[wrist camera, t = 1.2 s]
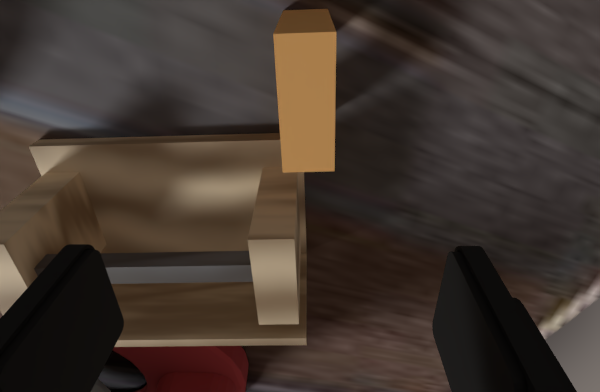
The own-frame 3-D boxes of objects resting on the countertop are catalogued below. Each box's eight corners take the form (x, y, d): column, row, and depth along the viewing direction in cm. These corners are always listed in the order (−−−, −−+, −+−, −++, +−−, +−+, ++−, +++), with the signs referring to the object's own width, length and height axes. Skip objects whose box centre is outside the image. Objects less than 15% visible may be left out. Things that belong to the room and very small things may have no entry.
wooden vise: (39, 139, 34) (-69, 213, 24) (302, 132, 33) (300, 205, 24) (87, 254, 41) (17, 348, 31) (306, 250, 40) (306, 346, 30)
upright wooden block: (283, 10, 28) (273, 33, 20) (327, 8, 28) (336, 31, 20) (288, 115, 33) (282, 172, 24) (327, 114, 32) (334, 171, 24)
